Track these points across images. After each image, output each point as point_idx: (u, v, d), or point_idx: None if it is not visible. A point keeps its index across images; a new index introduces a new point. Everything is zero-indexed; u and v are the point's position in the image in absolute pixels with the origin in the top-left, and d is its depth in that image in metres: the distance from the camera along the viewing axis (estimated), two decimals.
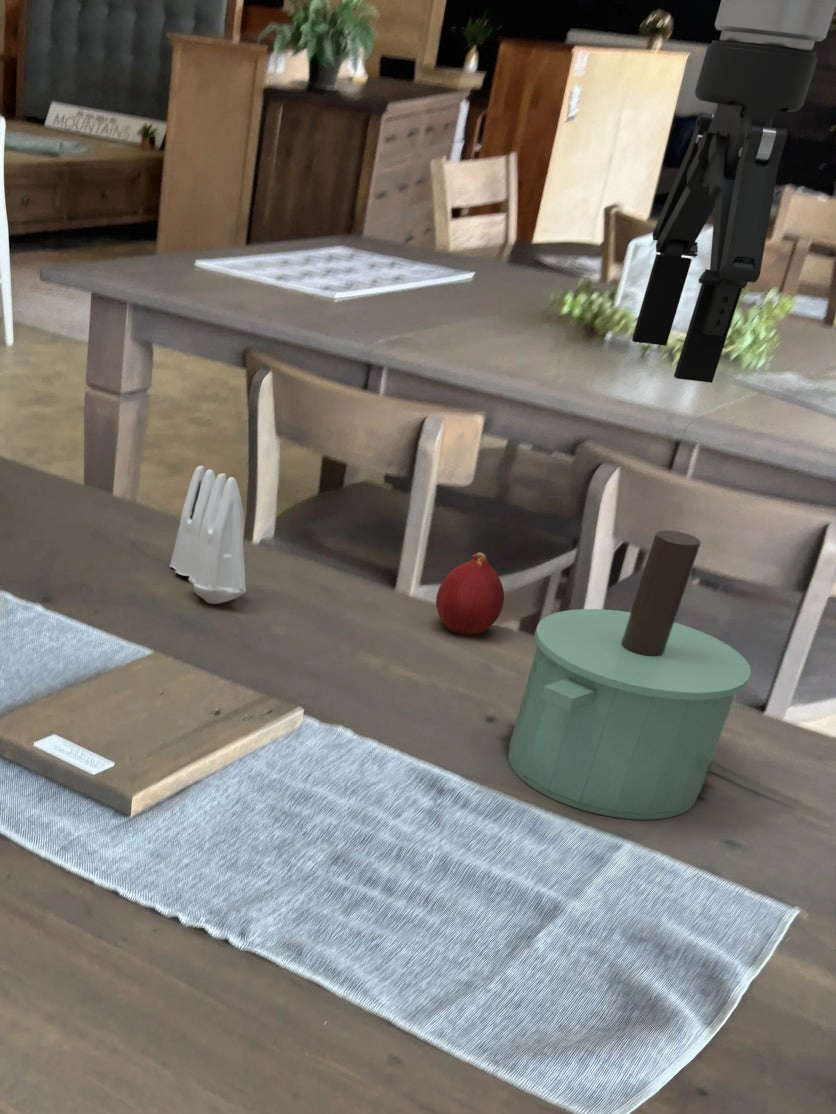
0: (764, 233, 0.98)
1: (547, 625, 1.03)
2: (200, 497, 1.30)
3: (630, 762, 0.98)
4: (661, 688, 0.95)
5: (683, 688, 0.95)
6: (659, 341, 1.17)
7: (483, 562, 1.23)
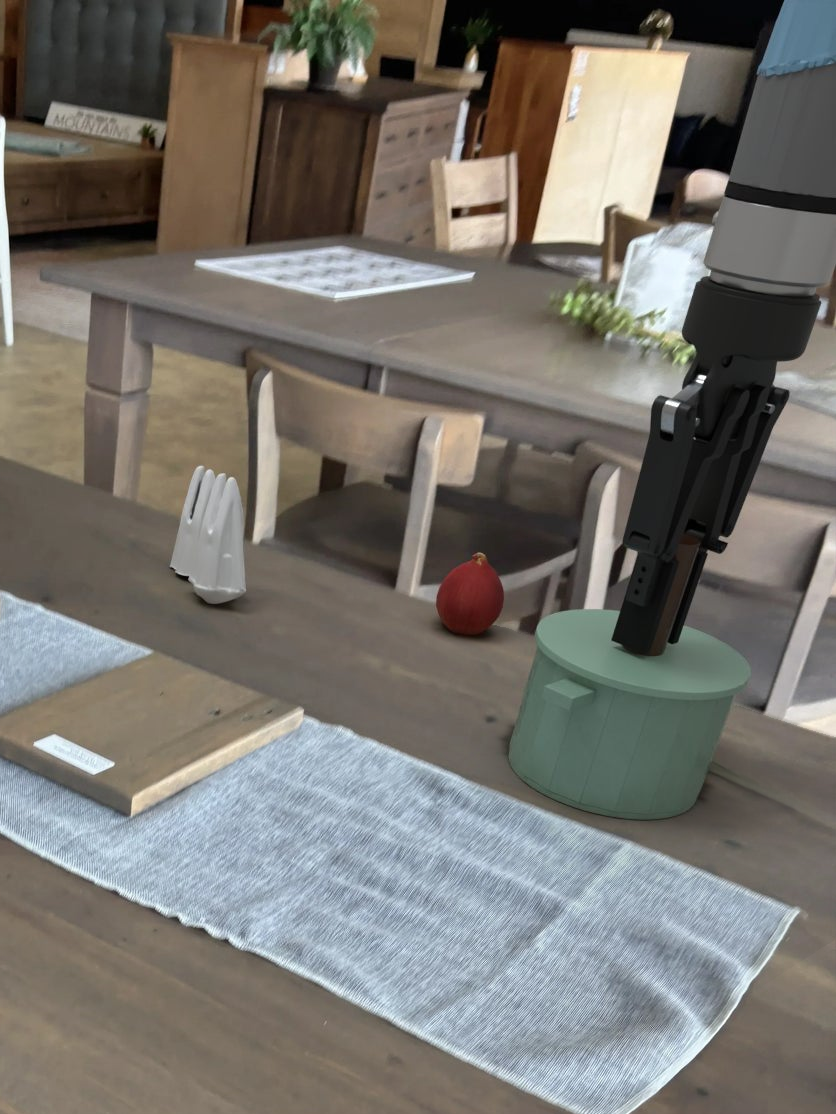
0: (661, 512, 0.91)
1: (547, 625, 1.03)
2: (200, 497, 1.30)
3: (630, 762, 0.98)
4: (661, 688, 0.95)
5: (683, 688, 0.95)
6: None
7: (483, 562, 1.23)
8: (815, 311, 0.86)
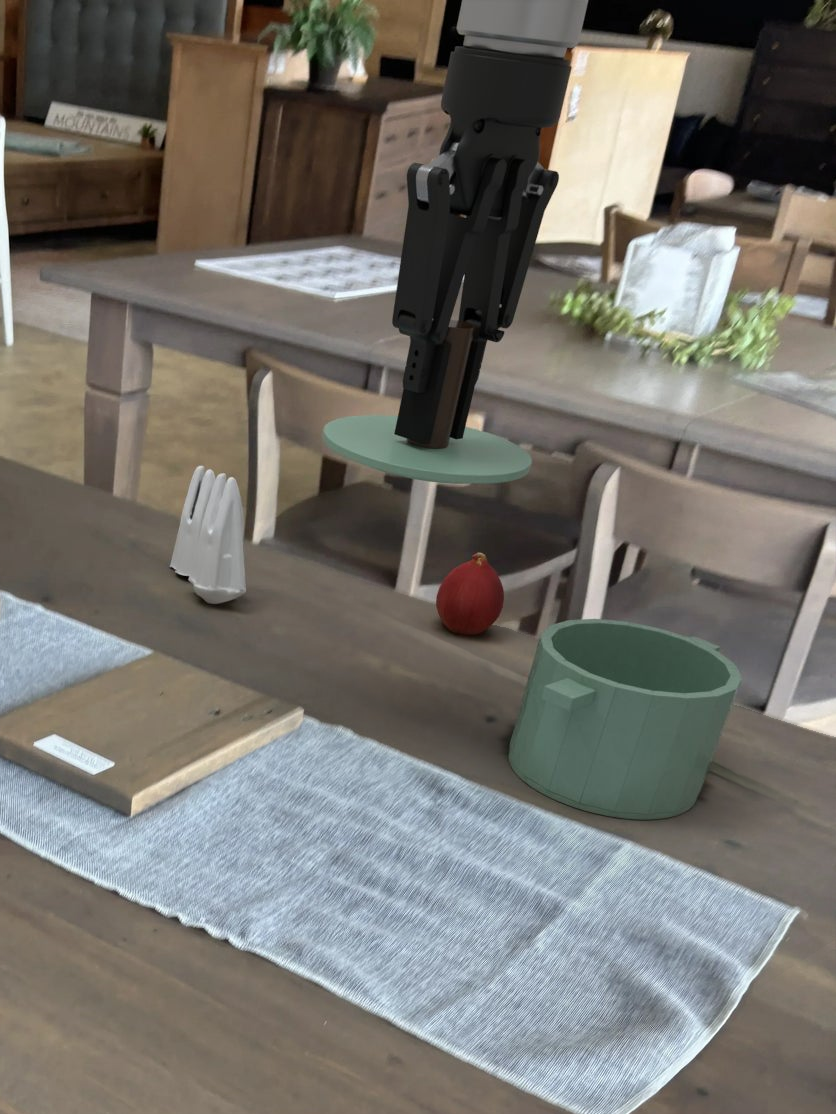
0: (424, 286, 0.92)
1: (336, 424, 1.03)
2: (200, 497, 1.30)
3: (630, 762, 0.98)
4: (432, 470, 0.95)
5: (455, 471, 0.96)
6: None
7: (483, 562, 1.23)
8: (563, 73, 0.86)
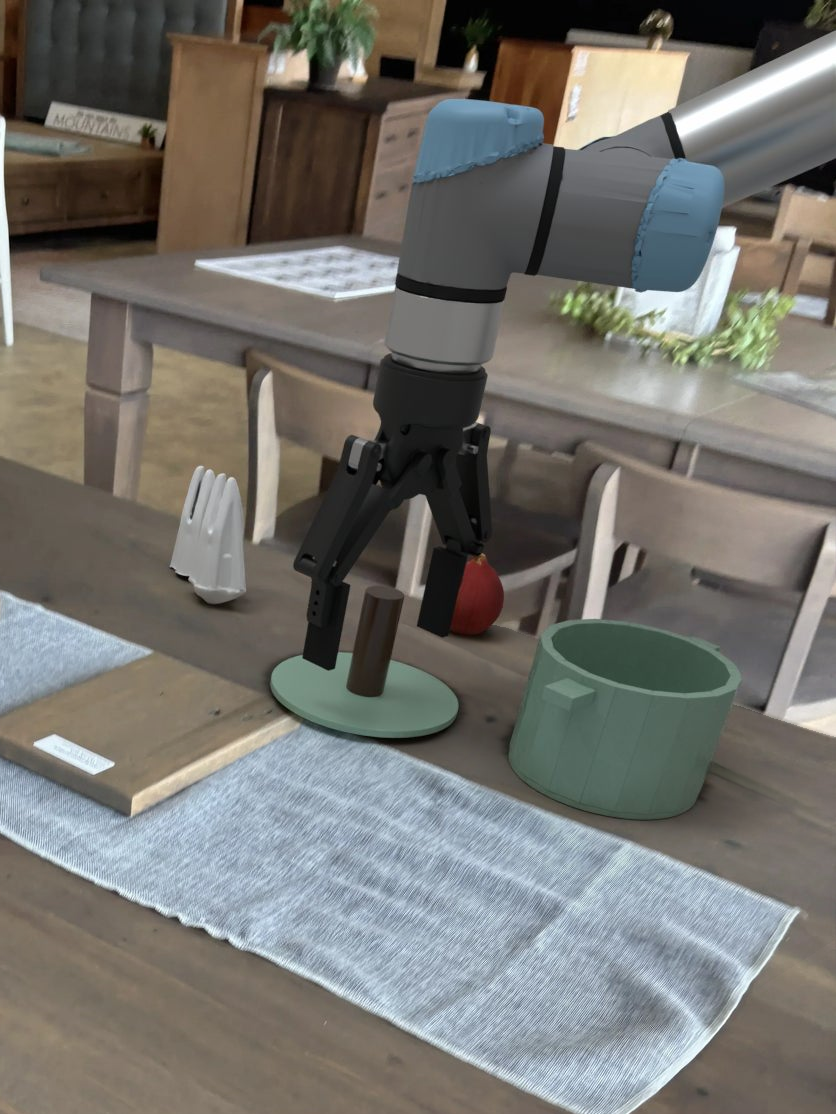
0: (333, 537, 0.99)
1: (284, 668, 1.15)
2: (200, 497, 1.30)
3: (630, 762, 0.98)
4: (366, 727, 1.07)
5: (386, 727, 1.07)
6: (436, 631, 1.14)
7: (483, 562, 1.23)
8: (478, 385, 0.97)
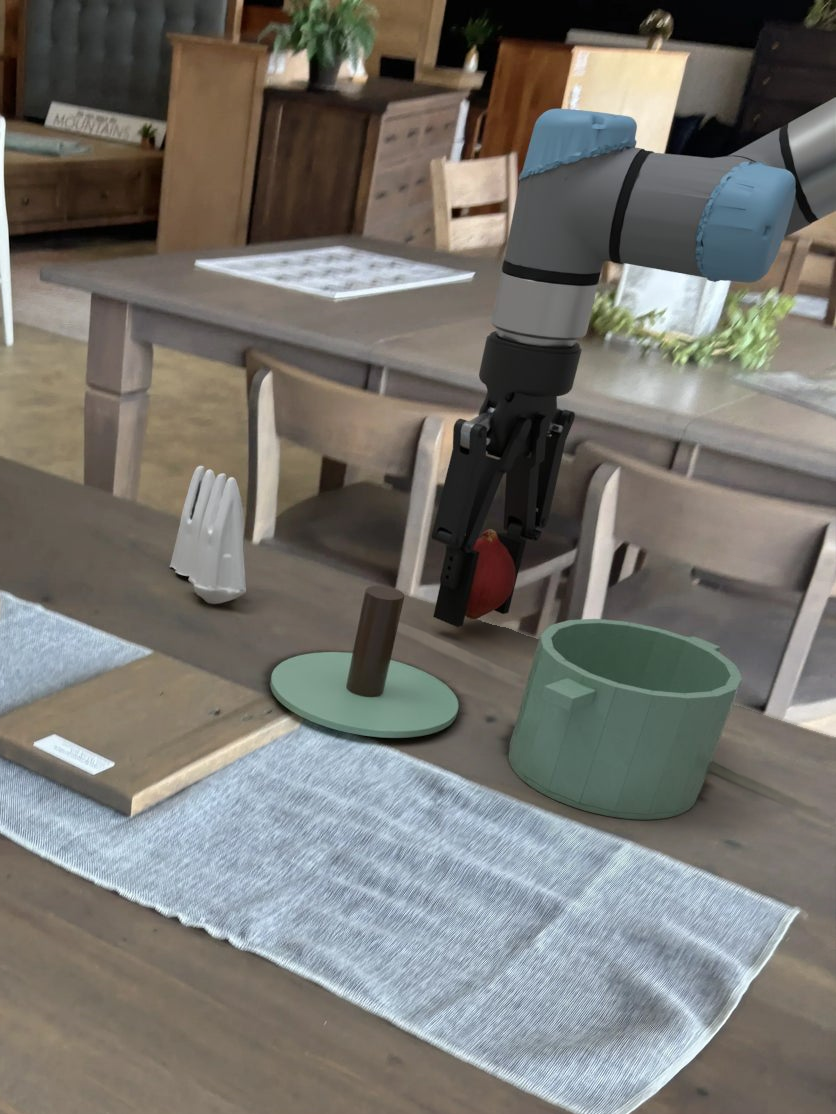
0: (460, 511, 1.16)
1: (284, 668, 1.15)
2: (200, 497, 1.30)
3: (630, 762, 0.98)
4: (366, 727, 1.07)
5: (386, 727, 1.07)
6: (497, 608, 1.27)
7: (494, 539, 1.21)
8: (575, 358, 1.11)
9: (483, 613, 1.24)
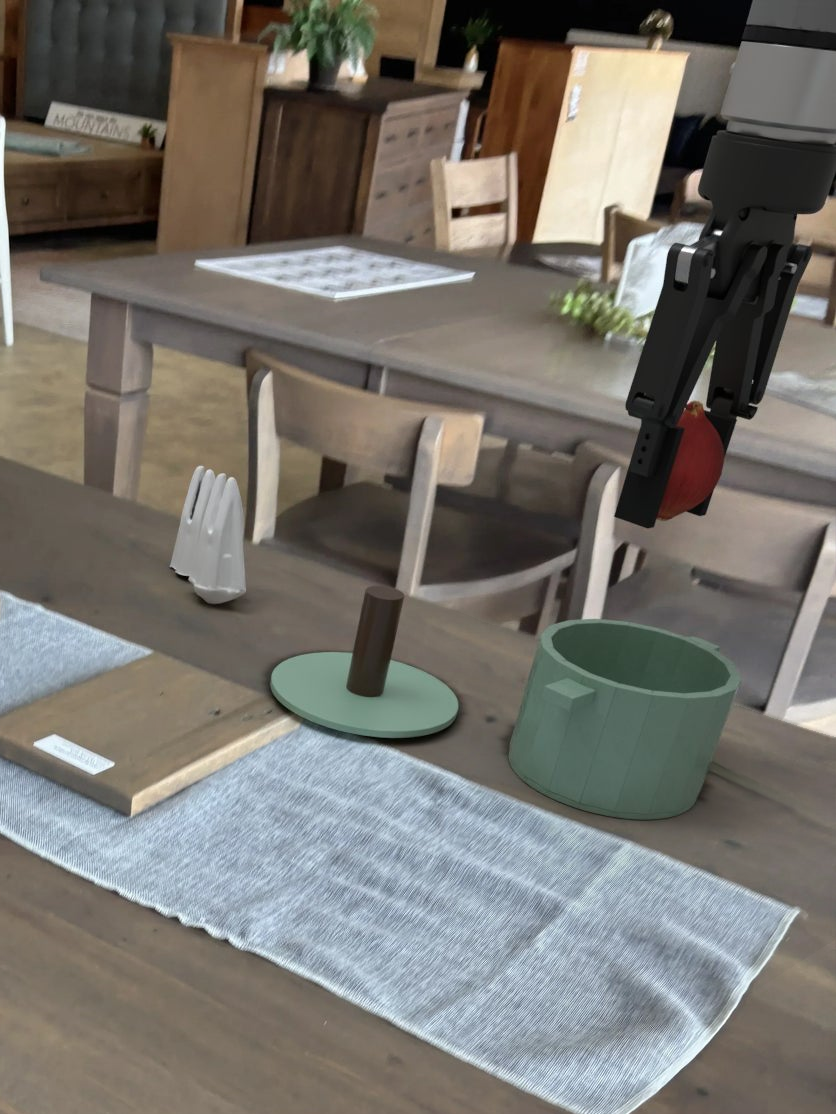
0: (669, 369, 0.88)
1: (284, 668, 1.15)
2: (200, 497, 1.30)
3: (630, 762, 0.98)
4: (366, 727, 1.07)
5: (386, 727, 1.07)
6: (692, 509, 0.99)
7: (700, 413, 0.94)
8: (835, 160, 0.84)
9: (678, 512, 0.97)
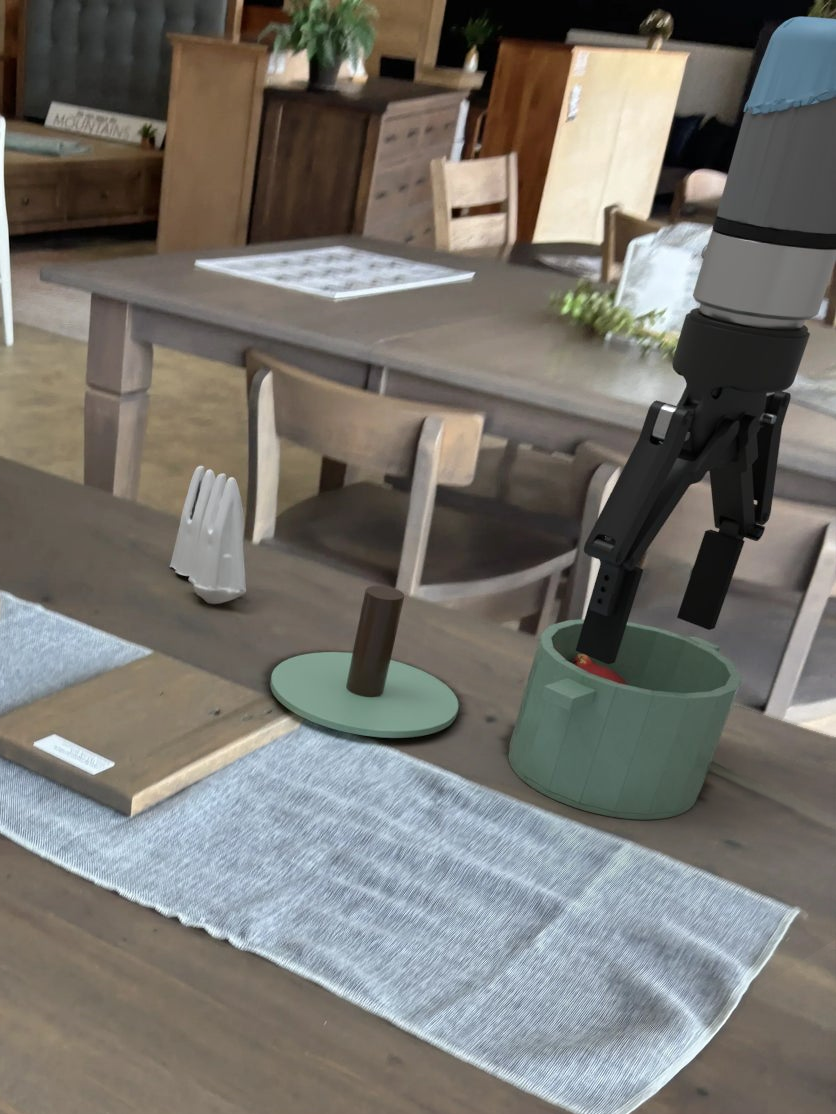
0: (634, 515, 0.89)
1: (284, 668, 1.15)
2: (200, 497, 1.30)
3: (630, 762, 0.98)
4: (366, 727, 1.07)
5: (386, 727, 1.07)
6: (702, 623, 1.04)
7: (587, 660, 1.06)
8: (803, 343, 0.87)
9: None
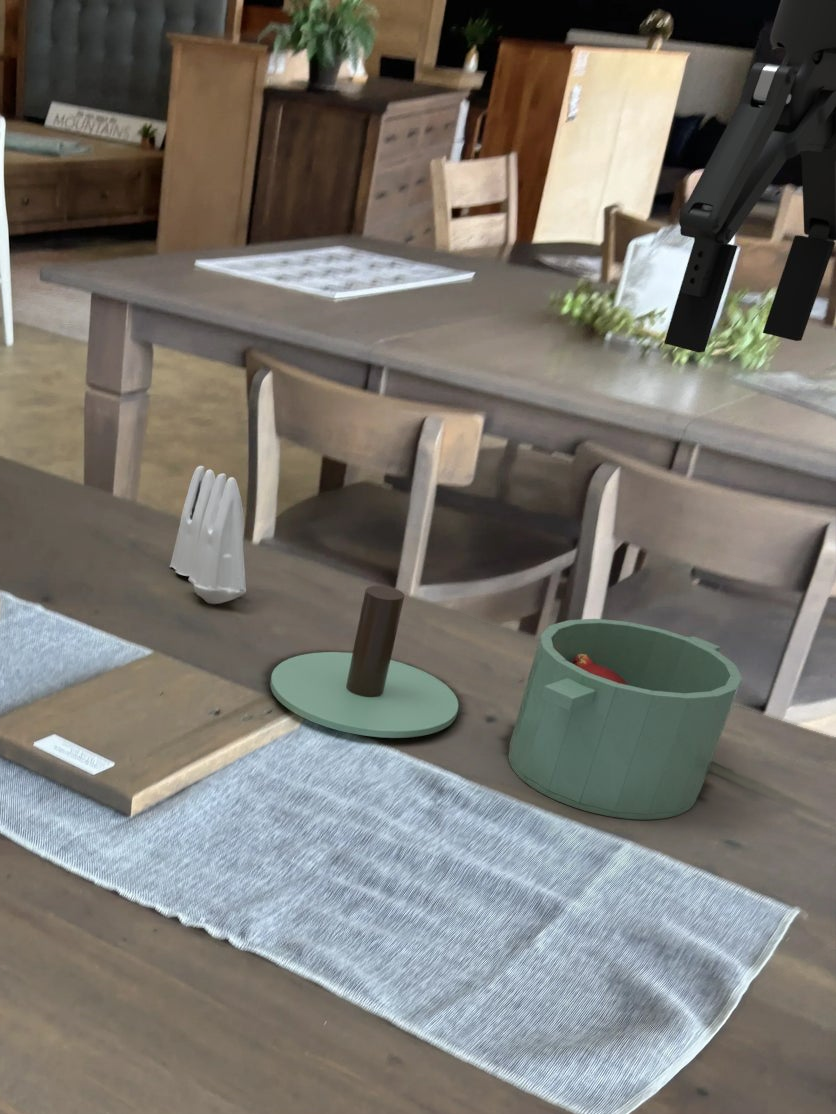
0: (733, 179, 0.89)
1: (284, 668, 1.15)
2: (200, 497, 1.30)
3: (630, 762, 0.98)
4: (366, 727, 1.07)
5: (386, 727, 1.07)
6: (789, 334, 1.03)
7: (587, 660, 1.06)
8: None
9: None
